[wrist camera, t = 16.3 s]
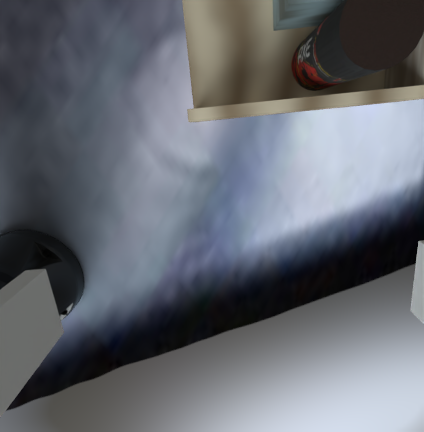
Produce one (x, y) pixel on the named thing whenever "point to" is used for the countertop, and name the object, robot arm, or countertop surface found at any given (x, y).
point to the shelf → (274, 61)
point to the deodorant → (358, 41)
